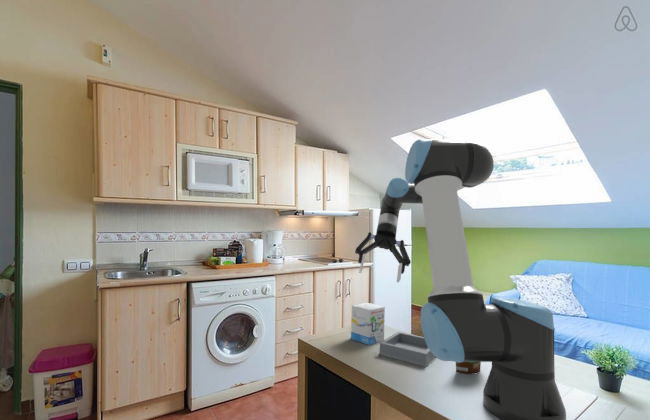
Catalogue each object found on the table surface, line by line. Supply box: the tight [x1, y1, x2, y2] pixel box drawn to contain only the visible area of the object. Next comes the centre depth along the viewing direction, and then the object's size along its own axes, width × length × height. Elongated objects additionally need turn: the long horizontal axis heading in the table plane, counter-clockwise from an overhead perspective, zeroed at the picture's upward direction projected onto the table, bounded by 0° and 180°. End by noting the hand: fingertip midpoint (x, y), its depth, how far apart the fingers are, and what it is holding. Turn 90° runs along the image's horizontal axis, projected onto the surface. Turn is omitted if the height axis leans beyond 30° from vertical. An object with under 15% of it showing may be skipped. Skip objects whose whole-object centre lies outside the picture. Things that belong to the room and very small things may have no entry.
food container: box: [455, 362, 482, 375], centre depth 91 cm, size 12×6×10 cm, turn 143°
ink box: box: [350, 302, 386, 346], centre depth 114 cm, size 8×8×12 cm
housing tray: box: [378, 331, 436, 367], centre depth 102 cm, size 14×14×4 cm
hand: (379, 276), depth 115 cm, fingers open, 13 cm apart
